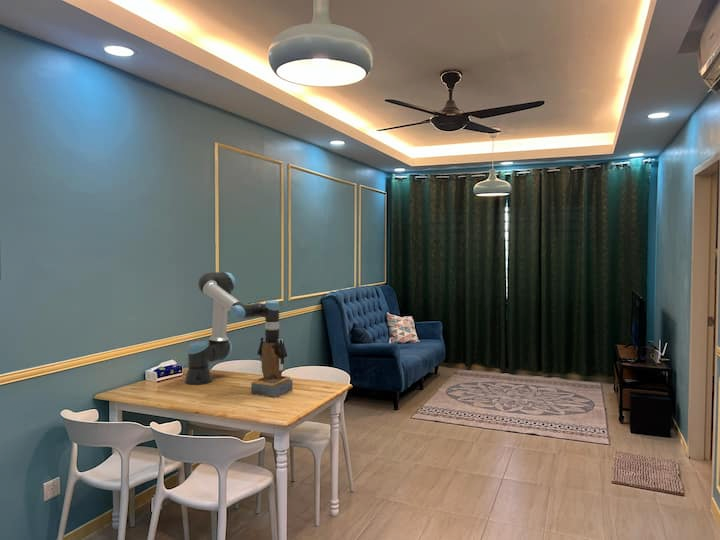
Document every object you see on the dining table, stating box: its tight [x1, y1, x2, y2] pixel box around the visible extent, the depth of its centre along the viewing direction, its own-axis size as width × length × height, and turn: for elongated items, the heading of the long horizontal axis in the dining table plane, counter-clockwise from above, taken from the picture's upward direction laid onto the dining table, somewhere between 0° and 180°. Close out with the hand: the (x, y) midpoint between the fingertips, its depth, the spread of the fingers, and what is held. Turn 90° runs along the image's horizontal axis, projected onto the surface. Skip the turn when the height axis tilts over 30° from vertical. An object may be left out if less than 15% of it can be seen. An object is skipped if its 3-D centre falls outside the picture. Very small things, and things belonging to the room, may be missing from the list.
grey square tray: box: [250, 375, 293, 398], centre depth 293 cm, size 16×16×8 cm
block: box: [261, 341, 283, 379], centre depth 293 cm, size 11×8×20 cm
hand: (272, 368), depth 293 cm, fingers closed on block, 11 cm apart
